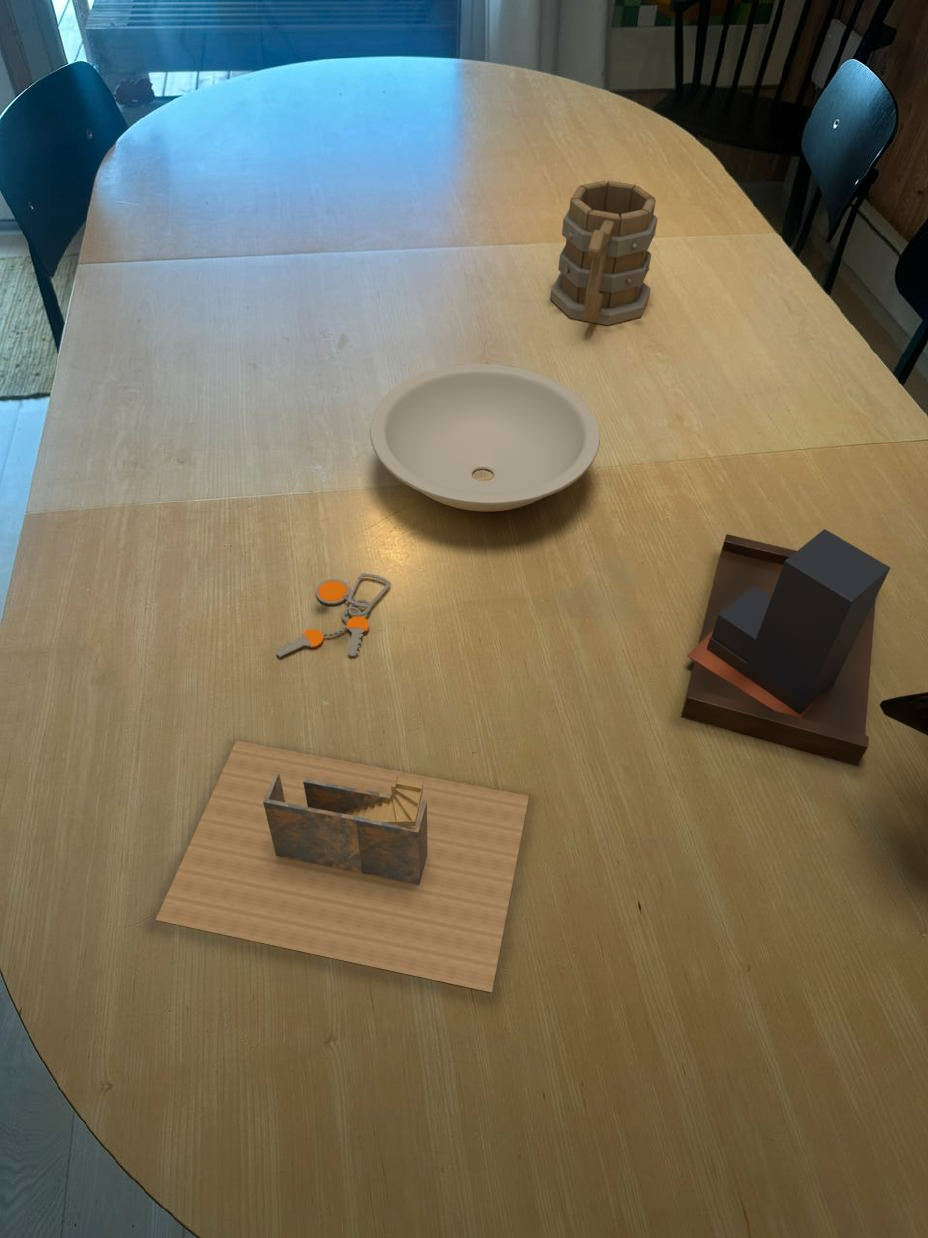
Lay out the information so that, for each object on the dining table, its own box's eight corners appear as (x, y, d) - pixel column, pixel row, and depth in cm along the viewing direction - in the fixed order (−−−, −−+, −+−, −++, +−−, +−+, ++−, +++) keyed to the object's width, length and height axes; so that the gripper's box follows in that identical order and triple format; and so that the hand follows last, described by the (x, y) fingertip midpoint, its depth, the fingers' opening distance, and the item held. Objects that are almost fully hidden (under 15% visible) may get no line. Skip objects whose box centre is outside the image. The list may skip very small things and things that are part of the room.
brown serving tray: (872, 590, 95) (881, 570, 93) (857, 766, 81) (868, 747, 79) (712, 551, 99) (718, 531, 97) (672, 713, 85) (677, 694, 83)
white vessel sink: (634, 513, 102) (644, 463, 98) (427, 579, 95) (426, 529, 90) (527, 392, 117) (532, 344, 112) (340, 442, 109) (336, 392, 105)
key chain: (334, 565, 96) (334, 558, 95) (402, 586, 94) (402, 579, 93) (269, 655, 88) (268, 649, 87) (342, 680, 86) (341, 674, 85)
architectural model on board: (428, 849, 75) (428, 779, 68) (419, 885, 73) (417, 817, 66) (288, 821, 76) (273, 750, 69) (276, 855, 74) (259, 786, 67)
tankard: (566, 270, 138) (577, 161, 126) (653, 286, 135) (673, 177, 124) (527, 341, 125) (536, 228, 114) (624, 361, 122) (643, 246, 111)
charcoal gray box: (835, 680, 85) (891, 567, 75) (799, 714, 83) (852, 602, 72) (742, 618, 90) (782, 503, 80) (706, 648, 88) (742, 534, 77)
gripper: (1140, 477, 64) (921, 524, 77) (1031, 627, 55) (803, 652, 68) (1199, 619, 66) (977, 641, 79) (1104, 786, 57) (869, 781, 70)
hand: (910, 673), depth 74 cm, fingers open, 9 cm apart
